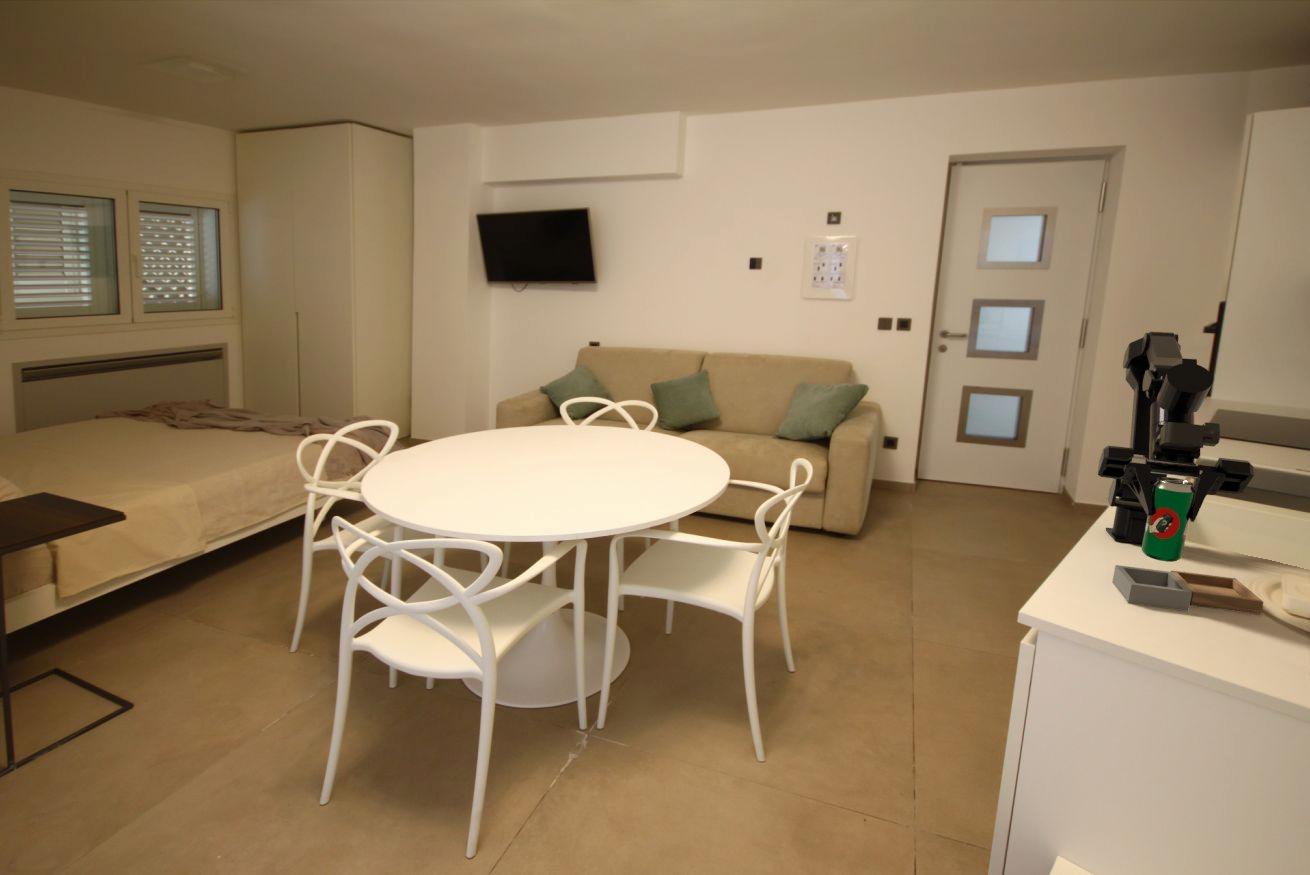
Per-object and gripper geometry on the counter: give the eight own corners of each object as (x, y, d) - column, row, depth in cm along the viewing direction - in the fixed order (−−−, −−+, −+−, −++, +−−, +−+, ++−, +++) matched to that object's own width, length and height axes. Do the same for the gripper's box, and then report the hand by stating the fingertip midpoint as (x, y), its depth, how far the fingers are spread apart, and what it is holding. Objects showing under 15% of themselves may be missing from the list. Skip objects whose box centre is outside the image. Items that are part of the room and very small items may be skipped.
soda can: (1187, 564, 106) (1204, 487, 103) (1150, 561, 106) (1165, 484, 104) (1170, 551, 110) (1185, 477, 108) (1134, 548, 111) (1148, 475, 109)
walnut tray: (1168, 581, 115) (1171, 570, 115) (1233, 590, 113) (1235, 578, 112) (1190, 605, 107) (1193, 592, 107) (1260, 614, 105) (1263, 601, 104)
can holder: (1112, 582, 115) (1115, 564, 114) (1168, 589, 112) (1171, 571, 112) (1128, 602, 107) (1131, 584, 107) (1188, 611, 105) (1192, 592, 104)
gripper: (1112, 395, 110) (1107, 481, 103) (1264, 407, 102) (1270, 502, 95) (1099, 434, 119) (1094, 516, 112) (1238, 448, 111) (1242, 538, 104)
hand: (1170, 517), depth 106 cm, fingers closed on soda can, 5 cm apart
